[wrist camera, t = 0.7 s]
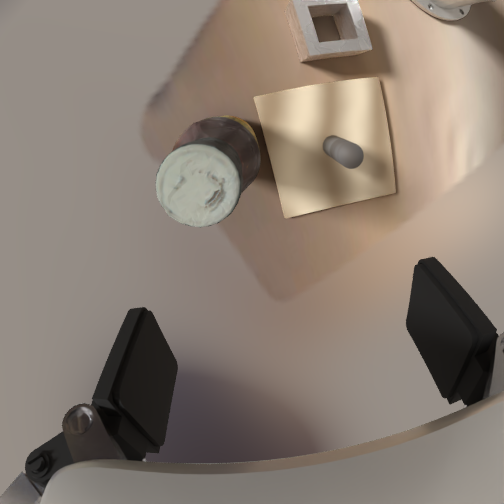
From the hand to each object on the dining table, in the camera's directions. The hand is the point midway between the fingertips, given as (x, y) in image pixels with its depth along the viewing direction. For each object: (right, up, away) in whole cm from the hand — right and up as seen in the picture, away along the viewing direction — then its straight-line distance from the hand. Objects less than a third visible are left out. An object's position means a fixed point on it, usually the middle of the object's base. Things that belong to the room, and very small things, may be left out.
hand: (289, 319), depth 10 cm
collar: (+6, +26, +15) cm, 30 cm away
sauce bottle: (-4, +14, +21) cm, 26 cm away
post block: (+7, +14, +21) cm, 27 cm away
